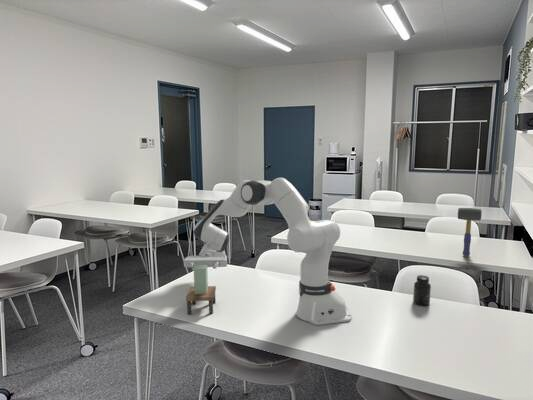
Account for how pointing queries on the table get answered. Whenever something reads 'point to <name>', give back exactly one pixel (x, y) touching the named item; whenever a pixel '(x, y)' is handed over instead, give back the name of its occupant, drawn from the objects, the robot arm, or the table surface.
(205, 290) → the green block
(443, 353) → the table surface
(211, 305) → the peg shelf
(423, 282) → the supplement bottle
